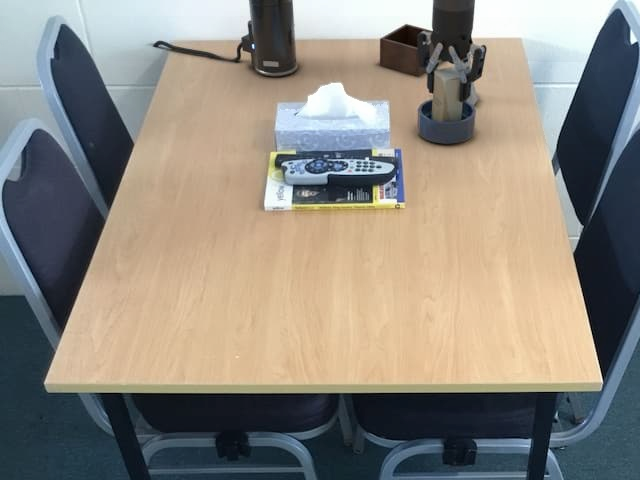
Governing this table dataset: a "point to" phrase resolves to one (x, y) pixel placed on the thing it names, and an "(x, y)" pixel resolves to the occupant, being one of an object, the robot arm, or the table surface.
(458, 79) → the box
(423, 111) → the bowl
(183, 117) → the table surface
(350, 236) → the table surface
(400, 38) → the box
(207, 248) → the table surface
